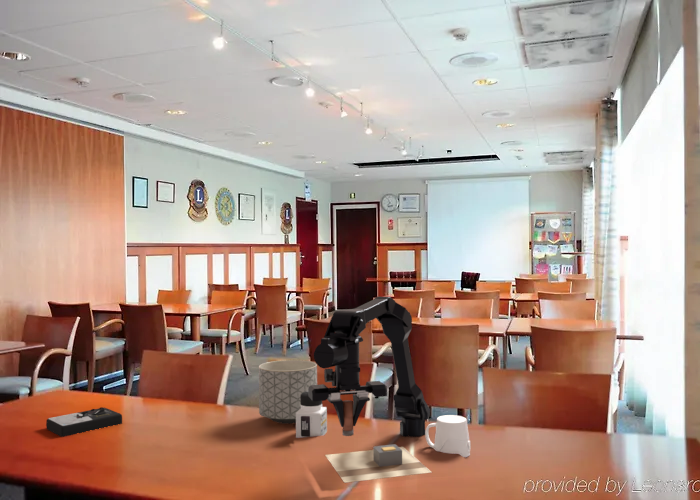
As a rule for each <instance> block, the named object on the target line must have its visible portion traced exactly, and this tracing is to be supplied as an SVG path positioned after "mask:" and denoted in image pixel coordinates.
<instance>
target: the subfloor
mask: <svg viewBox="0 0 700 500" xmlns="http://www.w3.org/2000/svg"><path fill="white" fill-rule="evenodd" d="M398 447H399V448H400V449H401V450H402V464H400V465H391V466H382V467H379V466H378V464H377V463H376V462H375V461H374V455H373V449H369V450H360V451H350V452H341V453H333V454H332V453H331V454H325V455H324V456H325V458H326V459H327V460H328V461H329V463H330V464H331V466H332V467H333V468H334V470H335V472H336V473H337V474H338V476H339V477H340V479H341V480H342V482H343V483H345V484H346V483H355V482H360V481H361V482H363V481H370V480H371V481H372V480H381V479H389V478H395V477H405V476H413V475H414V476H415V475H421V474H428V473H429V474H431V473H432V471H431V470H430V469H429V468H428V467H427V466H426V465H424V464H423V463H422V462H421V461H420V460H419V459H418V458H417V457H415V456H414V455H413V454H412V453H411V452H410V451H409V450H407V449H406V448H405V447H404V446H398Z"/></svg>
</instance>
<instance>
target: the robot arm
mask: <svg viewBox="0 0 700 500" xmlns="http://www.w3.org/2000/svg"><path fill="white" fill-rule="evenodd" d="M375 319H376V320H377V321H378V323H380V325H381V328H382V331H383V334H384V335H385V336H386V338H387V339H388V340H389V341H390V345H391V351H392V358H393V363H394V369H395V374H396V379H397V387H398V388H397V390H396V392H395V393H394V395H393V397H392V398H393V403H394V408H395V413H396V417H398V418H401V421H400V422H399V433H400V434H399V435H401V437H406V438H407V437H410V438H417V437H419V438H420V437H422V436H425V430H426V420H429V418H430V415H431V409H430V407H429V405H428V403H427V402H426V400H425V398H424V393H423V391H422V390H421V387H419V386H418V384H416V381H415V375H414V369H413V362H412V355H411V351H410V345H409V344H410V343H409V335H410V333H411V331H412V328H413V326H412V325H413V324H412V323H413V316H412V315H411V313H410V311H408V309H407V308H406V307H405V306H403V305H401V304H399V303H398V302H396V300H395V299H394V298H393V297H390V296H376V297H374V299H372V300H370V301H367V302H366V303H364V304H361V305H359V306H357V307H354V308H349V309H347V308H346V309H338V310H335V311H334V312H333V313H332V315H331V318H330V321H329V323H328V326H327V327H326V331H325V333H324V336H323V337H322V338H320V343H319V344H318V345H317V346H316V347H315V350H314V352H313V360H314V363H316V364H317V367H319V368H321V369H324V371H323V375H324V377H323V378H324V383H331V386H332V387H328V386H326V384H323V383H322V384H317V385H310V387H309V389H308V396H309V398H310V399H311V400H312V401H322V402H323V401H328V402H329V404H332V405H333V408H334V409H335V412H336V415H337V419H338V422H339V424H340V427H341V428H343V426H344V414H343V401H344V400H343V399H341V396H345V395H346V396H347V395H352V401H353V427H356V425H357V422H358V420H359V417H360V415H361V412H362V410H363V409H364V407H365V405H366V403H367V402H370V401H371V398H370V397H369V396H370V394H372V395H373V396H374V397H375V398H380V397H381V398H385V397H388V387H387V385H386V384H385V383H383V382H382V381H380V380H375V381H374V380H372V381H371V380H370V381H366V383H365V385H361V383H360V373H361V367H360V343H361V342H363V341H364V338H363V337H362V336H360V334H361V333H362V332H363V331H364V330H366V328H367V327H366V326H367V324H368V323H369V322H371V321H373V320H375ZM332 367H334V369H335V370H333V368H332Z"/></svg>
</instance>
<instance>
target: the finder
mask: <svg viewBox="0 0 700 500" xmlns="http://www.w3.org/2000/svg"><path fill="white" fill-rule="evenodd" d="M399 447H400V446H398V445H397V444H396V443H395V444H393V443H392V444H386V445H385V444H384V445H375V446H373V447H372V448H373V449H372V450H373V455H374V461H375V462H376V463H377V464H378V466H379V467H382V466H391V465H400V464H402V450H401V449H400V448H399Z"/></svg>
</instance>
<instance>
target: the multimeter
mask: <svg viewBox="0 0 700 500" xmlns="http://www.w3.org/2000/svg"><path fill="white" fill-rule="evenodd" d="M118 424H119V425H122V424H123V415H122V414H121V413H120V412H117V411H114V410H112V409H109V408H106V407H102V406H101V407H98V408H92V409H90V410H85V411H79V412H75V413H69V414H64V415H58V416H54V417H48V418H47V419H46V425H45V426H46V430H48V431H50V432H51V433H53V434H54V435H57V436H59V437H61V438H64V437H70V436H73V435H78V434H77V433H79V434H83V433H87V432H86V431H88V432H91V431H90V430H92V431H96V430H95V429H97V430H100V429H99V428H101V429H105V428H104V427H106V428H109V427H108V426H110V427H114V426H113V425H115V426H118ZM82 432H83V433H82Z"/></svg>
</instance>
